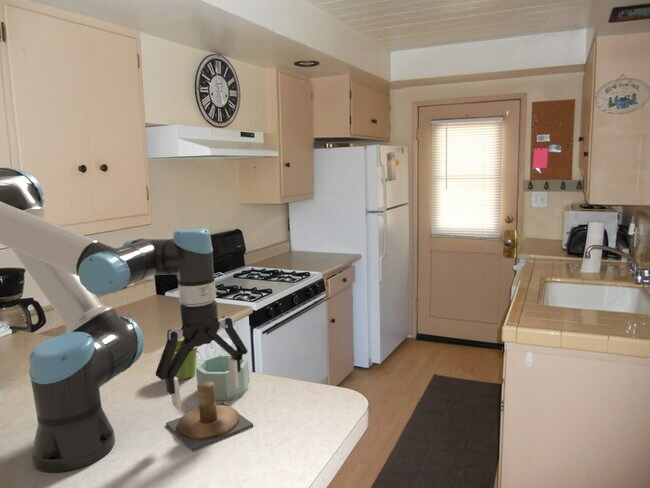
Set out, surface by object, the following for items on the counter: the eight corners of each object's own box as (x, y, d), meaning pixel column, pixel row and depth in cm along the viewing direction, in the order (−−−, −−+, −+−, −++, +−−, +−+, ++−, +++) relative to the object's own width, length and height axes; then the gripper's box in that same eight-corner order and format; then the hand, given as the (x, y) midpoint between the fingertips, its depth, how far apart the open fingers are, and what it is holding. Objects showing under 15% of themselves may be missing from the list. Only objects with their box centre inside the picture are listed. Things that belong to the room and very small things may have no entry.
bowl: (213, 405, 121) (211, 377, 120) (192, 389, 130) (189, 363, 129) (257, 389, 128) (255, 363, 127) (233, 375, 138) (231, 351, 137)
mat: (193, 451, 102) (192, 448, 102) (166, 425, 113) (166, 422, 113) (253, 426, 111) (253, 423, 111) (223, 404, 122) (222, 402, 121)
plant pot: (196, 382, 135) (193, 351, 133) (160, 383, 135) (157, 352, 133) (205, 368, 144) (202, 339, 142) (172, 369, 144) (169, 340, 143)
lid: (194, 446, 103) (190, 405, 101) (169, 422, 113) (165, 384, 111) (250, 423, 111) (247, 385, 109) (222, 403, 121) (219, 367, 119)
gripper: (145, 319, 97) (156, 422, 100) (258, 293, 112) (264, 384, 115) (132, 311, 103) (143, 409, 106) (241, 287, 118) (248, 374, 121)
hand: (206, 396), depth 111 cm, fingers open, 13 cm apart
